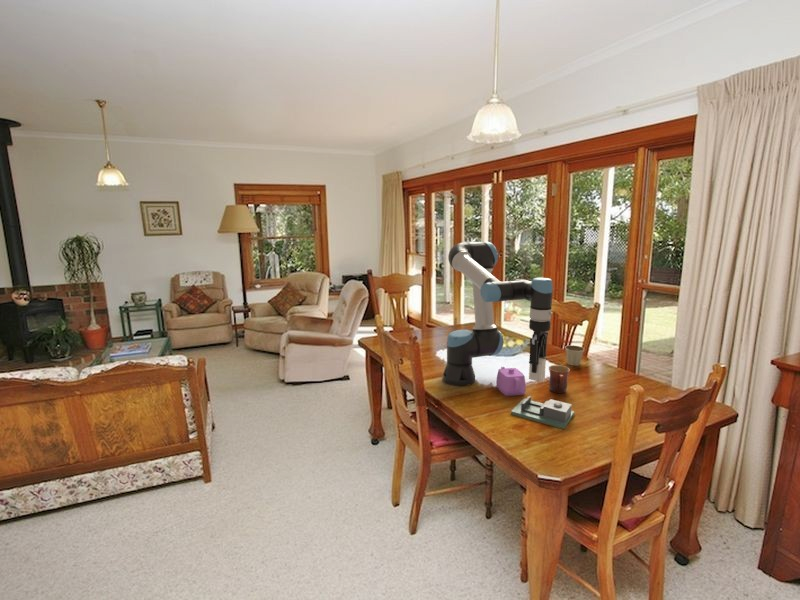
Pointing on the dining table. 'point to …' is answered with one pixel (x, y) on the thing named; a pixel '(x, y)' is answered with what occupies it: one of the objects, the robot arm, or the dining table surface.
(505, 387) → the teapot
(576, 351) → the flower pot
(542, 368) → the light grey block
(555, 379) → the mug
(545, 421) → the board
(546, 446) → the dining table surface
